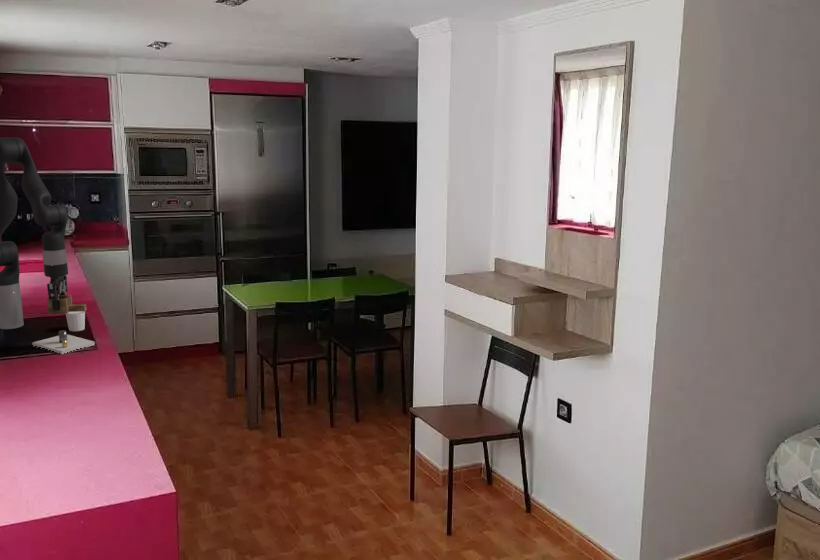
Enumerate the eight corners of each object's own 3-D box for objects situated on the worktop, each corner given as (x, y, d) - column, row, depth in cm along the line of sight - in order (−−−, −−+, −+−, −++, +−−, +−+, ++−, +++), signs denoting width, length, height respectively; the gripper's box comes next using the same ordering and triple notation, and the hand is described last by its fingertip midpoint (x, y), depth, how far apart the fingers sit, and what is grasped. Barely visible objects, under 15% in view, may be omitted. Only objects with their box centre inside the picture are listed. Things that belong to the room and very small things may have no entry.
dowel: (61, 347, 256) (60, 340, 255) (65, 346, 257) (65, 339, 257) (64, 348, 255) (63, 341, 255) (68, 347, 256) (67, 340, 256)
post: (57, 342, 261) (56, 331, 260) (64, 340, 264) (63, 330, 263) (62, 343, 260) (61, 332, 259) (69, 341, 262) (68, 331, 261)
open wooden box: (48, 313, 255) (46, 300, 254) (53, 308, 262) (52, 295, 260) (83, 312, 257) (82, 299, 256) (88, 307, 263) (86, 294, 262)
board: (32, 345, 261) (32, 342, 261) (65, 336, 272) (65, 333, 271) (61, 354, 252) (61, 351, 252) (94, 344, 263) (94, 341, 263)
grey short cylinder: (79, 332, 278) (77, 314, 276) (63, 331, 279) (61, 313, 277) (90, 327, 284) (88, 310, 283) (74, 326, 286) (73, 308, 284)
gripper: (50, 258, 261) (54, 303, 265) (36, 266, 248) (41, 313, 251) (72, 258, 263) (76, 302, 266) (60, 265, 249) (64, 313, 252)
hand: (59, 308), depth 259 cm, fingers closed on open wooden box, 6 cm apart
